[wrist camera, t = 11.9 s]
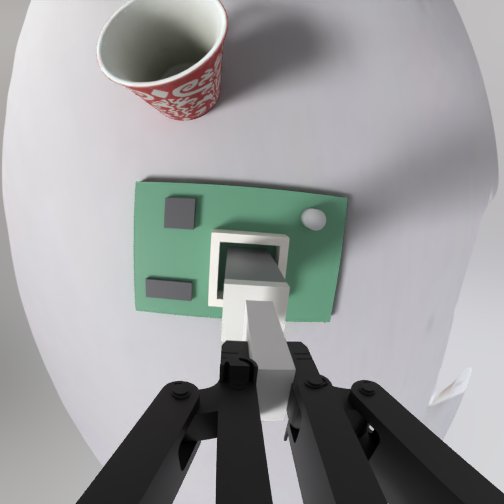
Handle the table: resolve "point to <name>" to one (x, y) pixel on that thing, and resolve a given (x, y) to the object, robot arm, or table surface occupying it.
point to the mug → (167, 53)
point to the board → (233, 245)
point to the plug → (250, 288)
